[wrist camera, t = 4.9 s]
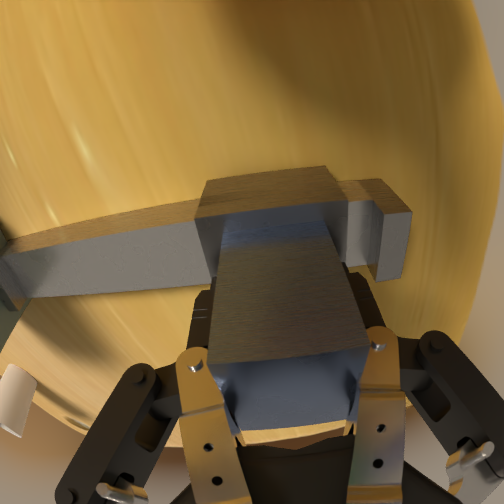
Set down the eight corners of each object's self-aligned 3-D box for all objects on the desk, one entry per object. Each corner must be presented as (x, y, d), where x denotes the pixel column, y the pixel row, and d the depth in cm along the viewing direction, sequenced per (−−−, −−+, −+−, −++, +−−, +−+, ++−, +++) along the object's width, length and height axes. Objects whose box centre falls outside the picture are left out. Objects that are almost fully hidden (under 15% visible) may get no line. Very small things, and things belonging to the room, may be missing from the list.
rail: (9, 240, 17) (-18, 271, 14) (380, 178, 15) (412, 211, 12) (30, 278, 20) (9, 311, 16) (376, 237, 17) (400, 278, 14)
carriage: (207, 180, 14) (156, 346, 6) (325, 165, 14) (414, 316, 6) (230, 279, 18) (220, 437, 10) (326, 268, 18) (368, 420, 10)
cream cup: (3, 366, 31) (-18, 414, 23) (10, 358, 29) (-13, 412, 21) (33, 389, 34) (16, 437, 26) (44, 384, 32) (26, 438, 24)
